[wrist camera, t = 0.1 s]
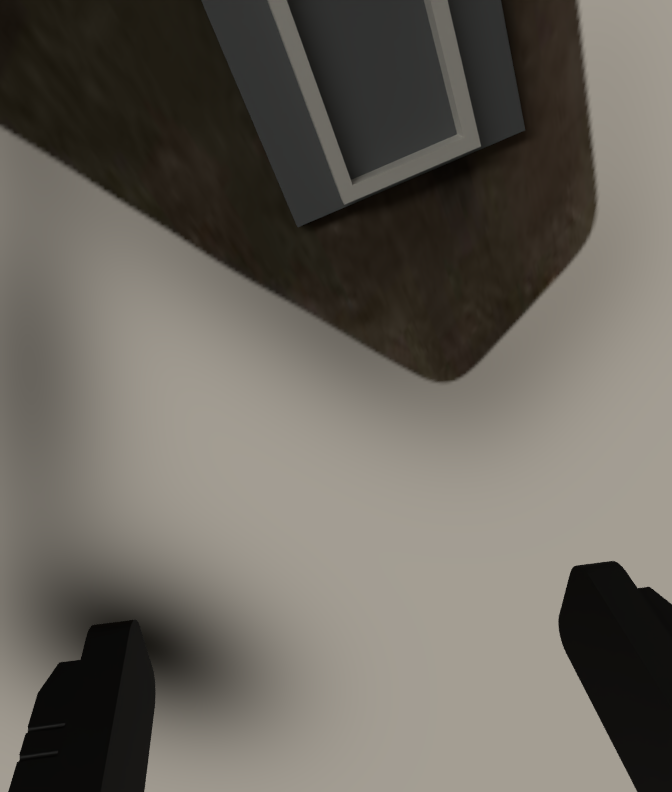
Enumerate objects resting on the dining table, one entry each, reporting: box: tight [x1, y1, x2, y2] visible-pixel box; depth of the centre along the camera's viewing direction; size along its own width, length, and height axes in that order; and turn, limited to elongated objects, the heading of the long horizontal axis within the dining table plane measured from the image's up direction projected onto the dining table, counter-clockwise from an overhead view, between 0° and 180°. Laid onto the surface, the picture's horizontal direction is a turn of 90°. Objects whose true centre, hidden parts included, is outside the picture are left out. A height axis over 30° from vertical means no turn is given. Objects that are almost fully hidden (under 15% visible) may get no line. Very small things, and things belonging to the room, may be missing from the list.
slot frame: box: [267, 0, 481, 205], centre depth 31 cm, size 12×8×1 cm
